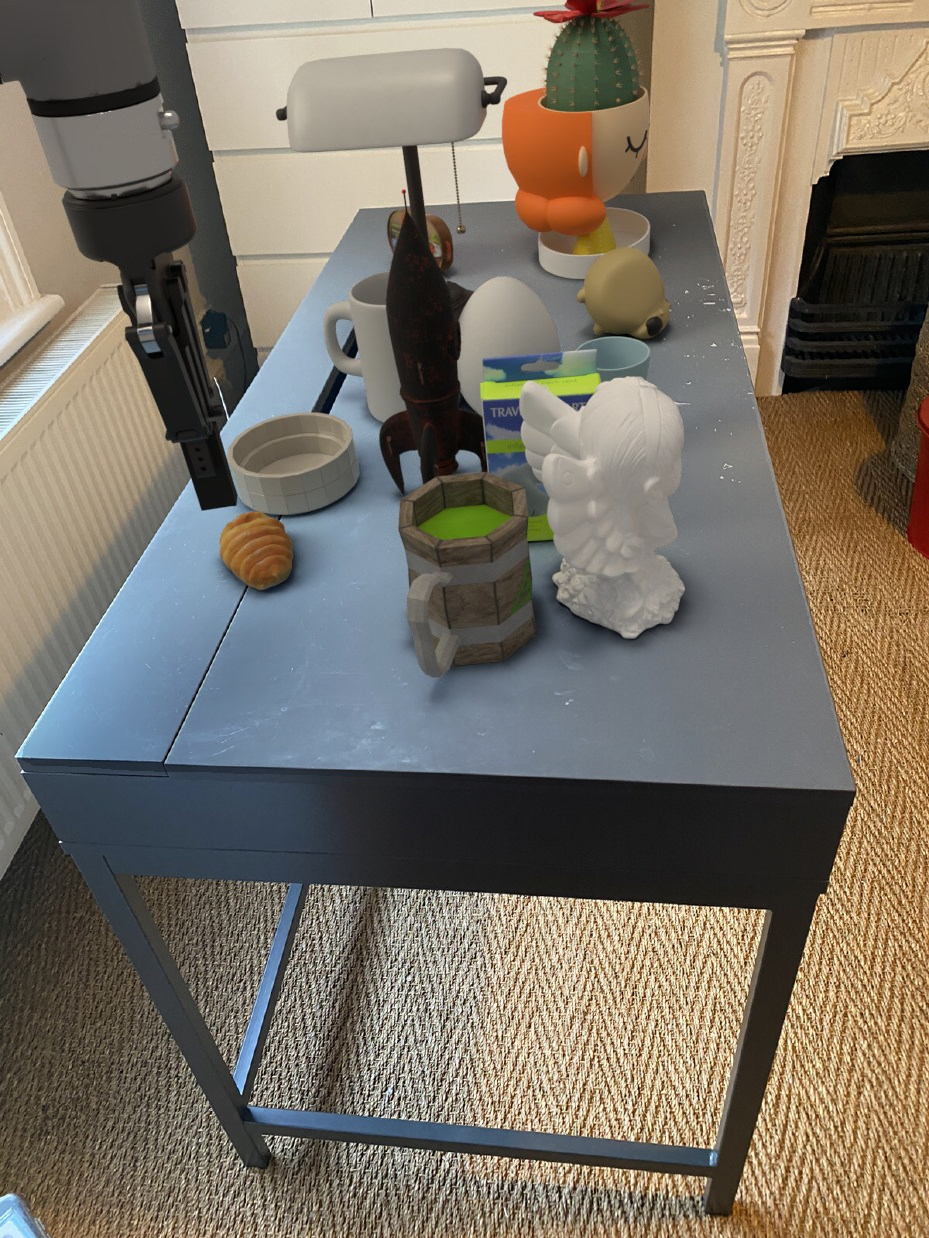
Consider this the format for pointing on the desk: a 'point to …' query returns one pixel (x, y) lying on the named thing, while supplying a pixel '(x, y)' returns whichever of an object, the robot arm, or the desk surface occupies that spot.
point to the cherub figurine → (609, 498)
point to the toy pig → (625, 294)
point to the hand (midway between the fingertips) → (219, 502)
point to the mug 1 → (368, 344)
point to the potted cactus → (580, 140)
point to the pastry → (257, 550)
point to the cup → (619, 357)
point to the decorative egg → (502, 331)
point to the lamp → (392, 112)
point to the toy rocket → (425, 365)
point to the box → (505, 420)
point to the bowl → (294, 463)
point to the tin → (436, 233)
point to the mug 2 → (467, 570)
